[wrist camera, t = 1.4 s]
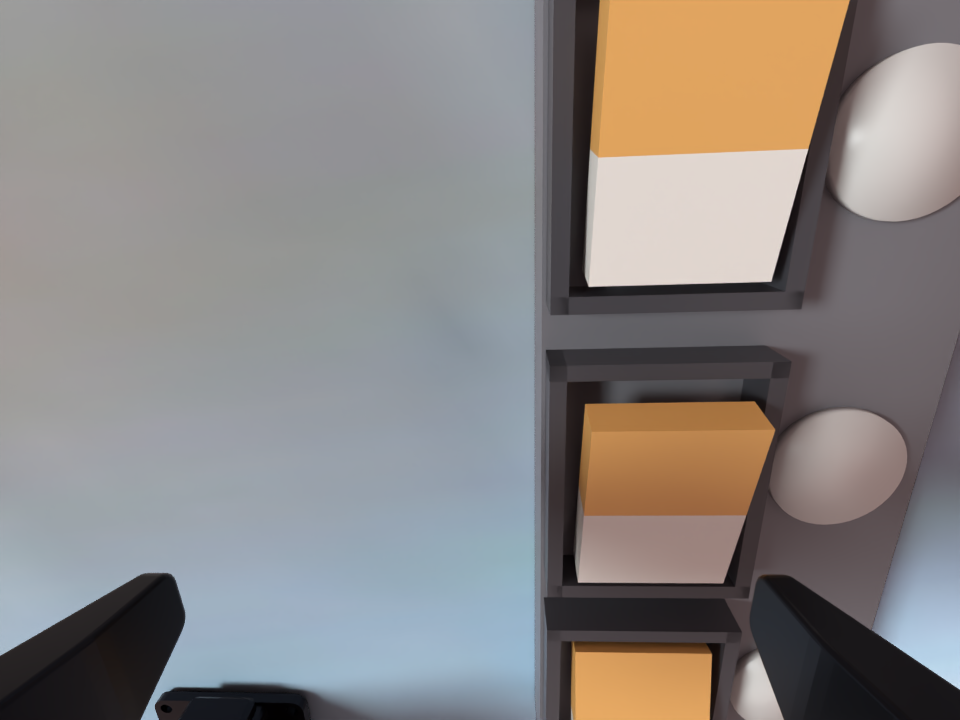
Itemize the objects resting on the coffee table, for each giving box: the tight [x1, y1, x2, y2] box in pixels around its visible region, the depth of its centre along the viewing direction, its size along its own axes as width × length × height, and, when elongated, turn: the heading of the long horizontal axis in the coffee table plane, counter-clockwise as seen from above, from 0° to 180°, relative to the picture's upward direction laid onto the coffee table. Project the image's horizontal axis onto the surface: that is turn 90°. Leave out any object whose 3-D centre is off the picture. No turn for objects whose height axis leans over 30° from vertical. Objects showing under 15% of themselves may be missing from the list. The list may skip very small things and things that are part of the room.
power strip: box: [535, 0, 960, 720], centre depth 15 cm, size 29×10×4 cm, turn 2°
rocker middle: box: [573, 401, 775, 583], centre depth 12 cm, size 5×4×1 cm
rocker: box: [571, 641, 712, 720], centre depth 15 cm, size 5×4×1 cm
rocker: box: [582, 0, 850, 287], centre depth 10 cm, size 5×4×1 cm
